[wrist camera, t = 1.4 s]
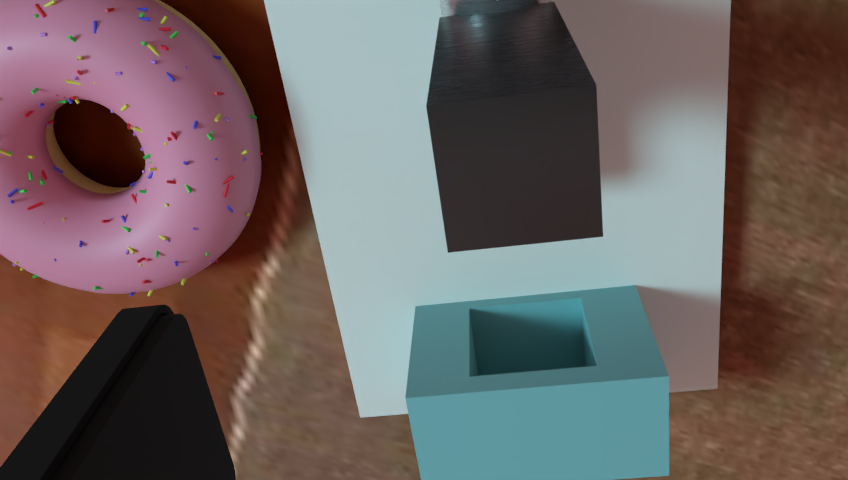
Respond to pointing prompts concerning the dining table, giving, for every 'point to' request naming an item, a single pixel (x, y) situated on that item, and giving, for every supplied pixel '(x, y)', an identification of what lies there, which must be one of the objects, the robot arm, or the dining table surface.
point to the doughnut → (151, 122)
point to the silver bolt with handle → (513, 127)
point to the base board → (524, 264)
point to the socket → (538, 388)
